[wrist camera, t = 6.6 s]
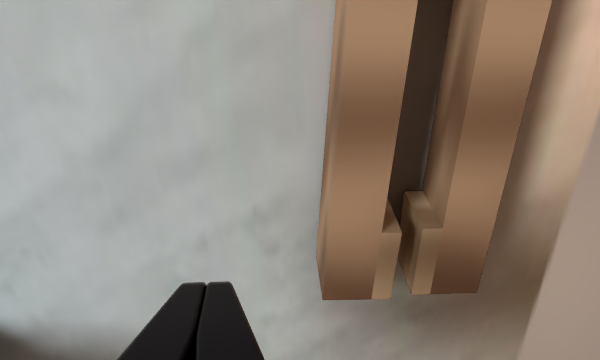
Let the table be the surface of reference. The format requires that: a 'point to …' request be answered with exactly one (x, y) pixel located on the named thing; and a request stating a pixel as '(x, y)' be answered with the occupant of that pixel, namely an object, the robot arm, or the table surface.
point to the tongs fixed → (470, 142)
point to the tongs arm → (362, 148)
